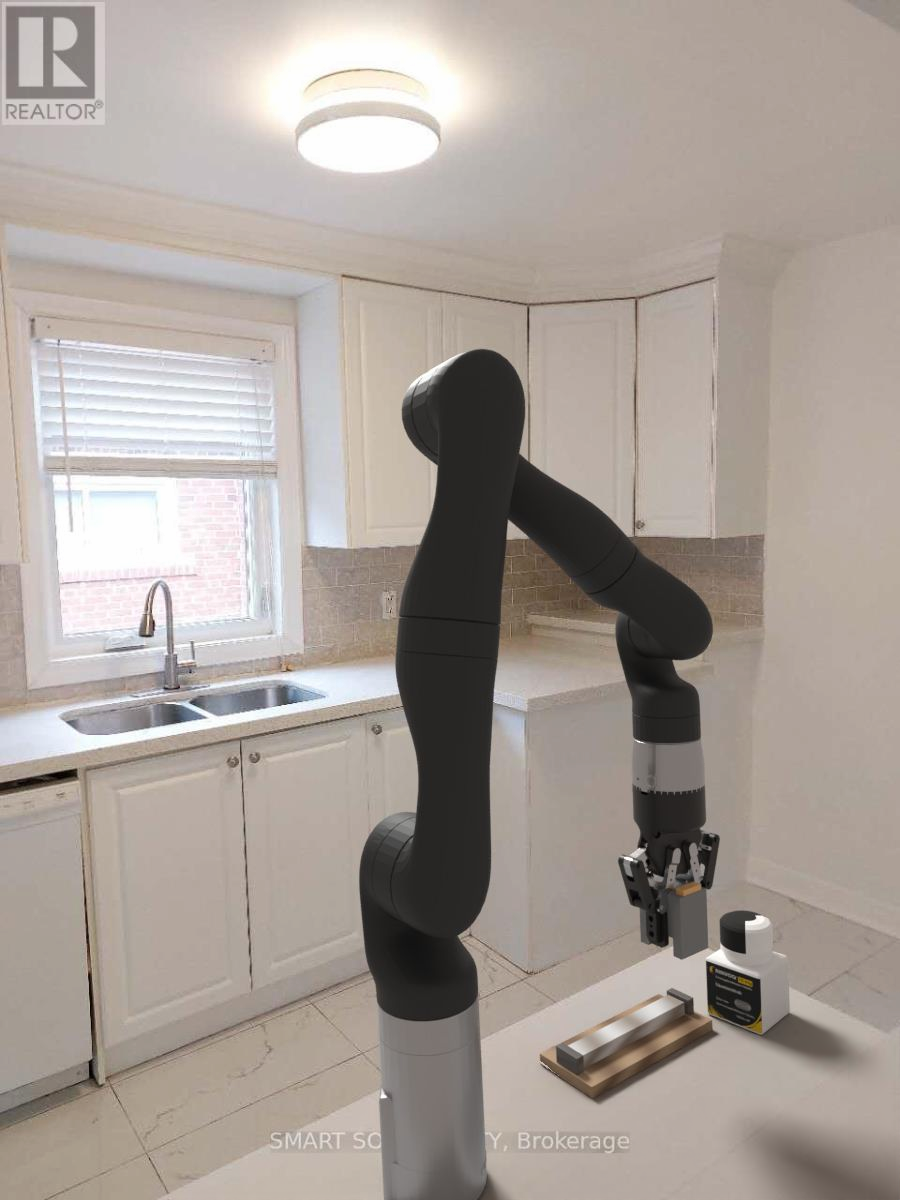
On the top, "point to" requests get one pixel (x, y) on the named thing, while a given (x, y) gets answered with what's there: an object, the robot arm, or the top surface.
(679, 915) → the block
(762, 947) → the medicine bottle
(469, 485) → the robot arm
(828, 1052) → the top surface
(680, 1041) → the rail board
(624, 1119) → the top surface
